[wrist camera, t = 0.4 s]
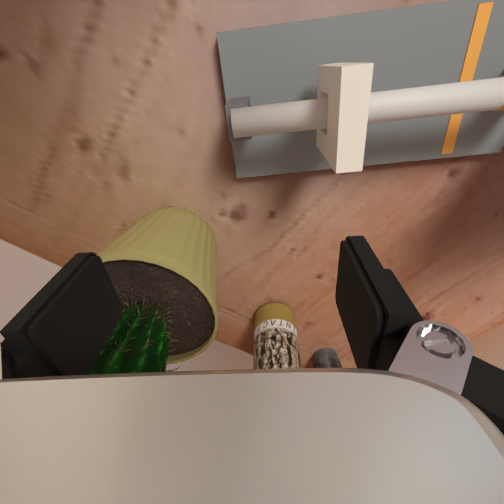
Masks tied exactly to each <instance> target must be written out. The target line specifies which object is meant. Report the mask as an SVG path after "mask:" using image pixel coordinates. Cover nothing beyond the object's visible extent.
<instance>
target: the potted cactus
mask: <svg viewBox="0 0 504 504" xmlns="http://www.w3.org/2000/svg"><path fill="white" fill-rule="evenodd" d="M97 256H99V257H100V258H101V259H102V261H103V264H104V266H105V268H106V270H107V273H108V275H109V277H110V279H111V282H112V284H113V286H114V288H115V290H116V293H117V295H118V297H119V299H120V302H121V304H122V307H123V312H122V315H121V317H120V319H119V321H118V322H117V324H116V326H115V328H114V330H113V331H112V333H111V335H110V337H109V339H108V340H107V342H106V344H105V346H104V348H103V349H102V351H101V353H100V355H99V357H98V358H97V360H96V362H95V364H94V366H93V367H92V369H91V371H90V373H89V375H96V374H121V373H150V372H166V371H165V369H166V365H167V364H171V363H177V362H182V361H185V360H188V359H191V358H193V357H195V356H197V355H199V354H200V353H202V352H203V351H205V350H206V349H207V348H208V347H209V346H210V344H211V343H212V341H213V340H214V339H215V337H216V334H217V331H218V327H219V317H218V283H217V251H216V240H215V236H214V233H213V231H212V229H211V228H210V226H209V225H208V224H207V222H206V221H205V220H203V219H202V218H201V217H200V216H198V215H197V214H195V213H193V212H191V211H189V210H186V209H183V208H178V207H165V208H160V209H157V210H154V211H153V212H151V213H149V214H147V215H146V216H145V217H144V218H142V219H141V220H140V221H139V222H137V223H136V224H135V225H134V226H132V227H131V228H130V229H129V230H127V231H126V232H125V233H124V234H122V235H121V236H120V237H119V238H117V239H116V240H115V241H114V242H112V243H111V244H110V245H108V246H107V247H106V248H105V249H103V250H102V251H101V252H100V253H98V254H97ZM176 369H177V368H176ZM174 370H175V369H174ZM174 370H173V371H174ZM168 372H169V371H168ZM171 372H172V371H171Z"/></svg>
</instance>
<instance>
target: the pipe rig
mask: <svg viewBox="0 0 504 504" xmlns="http://www.w3.org/2000/svg"><path fill="white" fill-rule="evenodd" d="M216 34H217V41H218V48H219V56H220V63H221V70H222V77H223V84H224V91H225V99H226V105H225V112H226V119H227V126H228V133H229V140H230V142H232V149H233V156H234V163H235V170H236V177H237V178H245V177H255V176H265V175H275V174H286V173H296V172H306V171H316V170H326V169H332V167H331V166H330V164H329V163H328V161H327V160H326V159H325V157H324V156H323V154H322V153H321V151H320V150H319V148H318V147H317V146H316V136H317V129H323V128H327V118H328V98H319V99H317V78H318V65H324V64H332V63H340V62H346V63H374V67H373V76H372V85H371V94H370V104H369V113H368V122H367V132H366V141H365V150H364V159H363V166H367V165H377V164H388V163H398V162H408V161H418V160H428V159H439V158H449V157H459V156H469V155H479V154H490V153H500V152H501V151H502V148H503V145H504V0H451V1H444V2H436V3H429V4H422V5H414V6H407V7H400V8H392V9H385V10H378V11H371V12H363V13H356V14H349V15H341V16H334V17H327V18H319V19H312V20H305V21H298V22H290V23H283V24H276V25H268V26H261V27H254V28H246V29H239V30H232V31H225V32H217V33H216Z"/></svg>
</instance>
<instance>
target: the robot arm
mask: <svg viewBox="0 0 504 504" xmlns="http://www.w3.org/2000/svg"><path fill="white" fill-rule="evenodd" d="M336 304H337V307H338V311H339V314H340V317H341V320H342V323H343V326H344V329H345V332H346V335H347V338H348V341H349V344H350V347H351V350H352V353H353V357H354V360H355V363H356V366H357V368H282V369H247V370H211V371H181V372H150V373H121V374H96V375H89V373H90V371H91V369H92V367H93V366H94V364H95V362H96V360H97V358H98V357H99V355H100V353H101V351H102V349H103V348H104V346H105V344H106V342H107V340H108V339H109V337H110V335H111V333H112V331H113V330H114V328H115V326H116V324H117V322H118V321H119V319H120V317H121V315H122V312H123V307H122V304H121V302H120V299H119V297H118V295H117V293H116V290H115V288H114V286H113V284H112V282H111V279H110V277H109V275H108V273H107V270H106V268H105V266H104V264H103V261H102V259H101V258H100V257H99V256H97V255H96V254H95V253H93V252H89V253H77V254H76V255H75V256H74V257H73V258H72V259H71V260H70V261H69V262H68V263H67V264H66V265H65V266H64V267H63V268H62V269H61V270H60V271H59V272H58V273H57V274H56V275H55V276H54V277H53V278H52V279H51V280H50V281H49V282H48V283H47V284H46V285H45V286H44V287H43V288H42V289H41V290H40V291H39V292H38V293H37V294H36V295H35V296H34V297H33V298H32V299H31V300H30V301H29V302H28V303H27V304H26V305H25V307H23V308H22V309H21V310H20V312H19V313H17V314H16V316H15V317H14V318H13V319H12V320H11V321H10V322H9V323H8V324H7V325H6V326H5V327H4V328H3V329H2V330H1V331H0V333H1V334H2V336H3V337H4V338H5V339H4V341H3V342H2V343H0V504H504V370H501V369H499V368H497V367H495V366H493V365H491V364H489V363H487V362H485V361H483V360H481V359H479V358H477V357H475V356H473V347H472V345H471V343H470V341H469V340H468V339H467V338H466V336H465V335H464V334H462V333H461V332H460V331H458V330H457V329H456V328H454V327H452V326H450V325H448V324H445V323H441V322H438V321H430V320H427V321H424V320H423V318H422V317H421V315H420V314H419V312H418V311H417V309H416V308H415V306H414V304H413V303H412V301H411V300H410V298H409V297H408V295H407V294H406V292H405V291H404V289H403V288H402V286H401V284H400V283H399V281H398V280H397V278H396V277H395V275H394V274H393V272H392V271H391V270H390V269H384V268H383V267H382V265H381V263H380V262H379V260H378V258H377V257H376V255H375V254H374V252H373V250H372V249H371V247H370V246H369V244H368V242H367V241H366V239H365V237H364V236H348V237H346V240H345V241H341V244H340V254H339V265H338V275H337V285H336Z"/></svg>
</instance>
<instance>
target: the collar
mask: <svg viewBox="0 0 504 504" xmlns="http://www.w3.org/2000/svg"><path fill="white" fill-rule="evenodd" d="M373 67H374V63H346V62H340V63H332V64H324V65H318V78H317V99H319V98H328V118H327V128H323V129H317V136H316V146H317V147H318V148H319V150H320V151H321V153H322V154H323V156H324V157H325V159H326V160H327V161H328V163H329V164H330V166H331V167H332V169H333V170H334V172H335V173H347V172H357V171H362V169H363V159H364V150H365V141H366V132H367V122H368V113H369V104H370V94H371V85H372V76H373Z"/></svg>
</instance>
